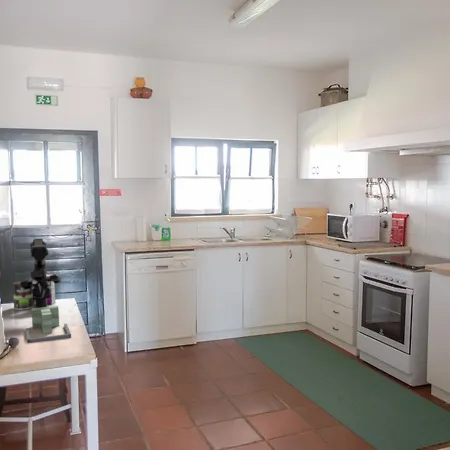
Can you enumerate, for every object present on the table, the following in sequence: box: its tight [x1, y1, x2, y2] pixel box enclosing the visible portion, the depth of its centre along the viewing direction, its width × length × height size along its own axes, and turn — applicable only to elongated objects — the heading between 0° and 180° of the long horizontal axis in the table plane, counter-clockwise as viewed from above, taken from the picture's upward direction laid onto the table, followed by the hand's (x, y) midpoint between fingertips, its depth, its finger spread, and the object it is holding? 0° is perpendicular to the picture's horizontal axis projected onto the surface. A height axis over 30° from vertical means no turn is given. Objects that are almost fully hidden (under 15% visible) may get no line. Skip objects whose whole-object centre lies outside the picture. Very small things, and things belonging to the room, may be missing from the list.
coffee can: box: [12, 280, 35, 311], centre depth 277 cm, size 10×10×14 cm
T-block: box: [31, 305, 60, 335], centre depth 238 cm, size 14×12×9 cm
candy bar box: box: [31, 274, 56, 305], centre depth 285 cm, size 11×5×16 cm, turn 84°
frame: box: [25, 323, 72, 344], centre depth 230 cm, size 18×18×2 cm
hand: (41, 297), depth 250 cm, fingers closed
